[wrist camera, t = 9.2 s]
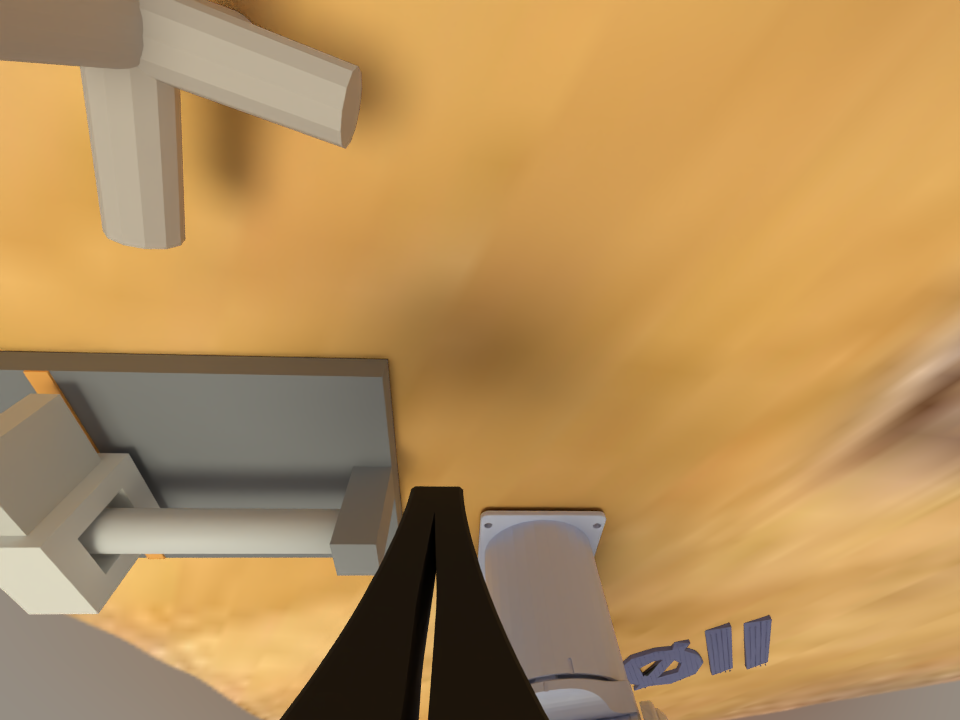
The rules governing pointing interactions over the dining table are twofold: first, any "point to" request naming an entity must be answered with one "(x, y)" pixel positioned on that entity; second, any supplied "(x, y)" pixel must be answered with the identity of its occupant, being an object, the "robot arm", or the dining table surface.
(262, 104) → the pipe connector
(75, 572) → the collar
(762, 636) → the signage
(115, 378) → the pipe board
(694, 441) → the dining table surface
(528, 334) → the dining table surface
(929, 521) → the dining table surface
